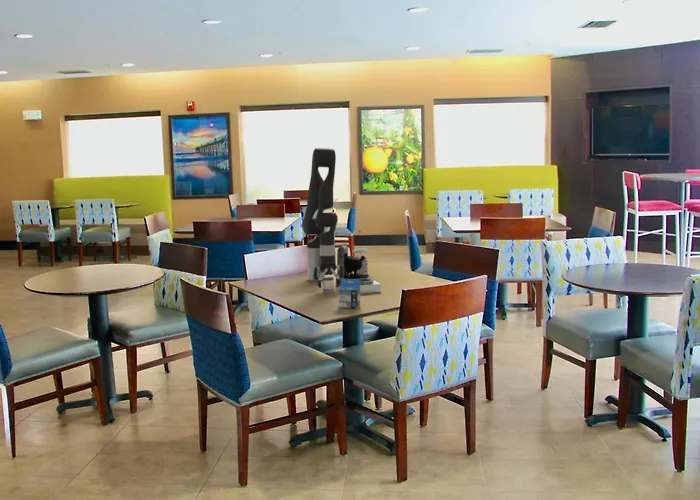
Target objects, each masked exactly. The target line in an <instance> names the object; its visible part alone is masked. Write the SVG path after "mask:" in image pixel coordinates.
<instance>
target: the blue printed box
mask: <svg viewBox="0 0 700 500" xmlns="http://www.w3.org/2000/svg"><path fill="white" fill-rule="evenodd" d="M348 282H354V283H348ZM338 308H340V309H352V310H353V309H354V310H359V309H360V308H361V294H360V279H341V285H339V288H338Z"/></svg>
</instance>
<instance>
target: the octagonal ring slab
mask: <svg viewBox="0 0 700 500" xmlns="http://www.w3.org/2000/svg"><path fill="white" fill-rule="evenodd" d="M348 283H354V282H351V281H350V282H348ZM381 287H382V285H381V283H380V282H378V281H376V280H374V279H372V278H367V279H366V278H365V279H364V278H363V279H360V295H362V294H372V293H373V294H374V293H381Z"/></svg>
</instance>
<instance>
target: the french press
mask: <svg viewBox="0 0 700 500" xmlns="http://www.w3.org/2000/svg"><path fill="white" fill-rule="evenodd" d="M357 233H362V230H361V229H359V230H357ZM367 252H368V250H367V249H366V248H364V247H358V248H355V249H353V250H352V253H355V254H353V255H352V256H353V257H356V258H358V259H360V258H361V256H362V255H358V254H356V253H359V254H361V253H367ZM362 262H363V263H362V267H361V269H360V270H358V271H357V274H359V273H361V274H362V275H368V276H369V277H371V275H369V271H368V267H369V266H368V258H367V257H366V256H365V259H364V260H362Z"/></svg>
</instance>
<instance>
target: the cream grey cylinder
mask: <svg viewBox="0 0 700 500" xmlns="http://www.w3.org/2000/svg"><path fill="white" fill-rule="evenodd" d="M334 277H335V276H325V277H323V280H322V288H323V289H322V290H323V291H322V292H323V293H326V294H330V293H331V292H332V293H334V292H335V291H334V290H335V289H334V288H335V286H334V283H335V282H334V281H335V280H334Z"/></svg>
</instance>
